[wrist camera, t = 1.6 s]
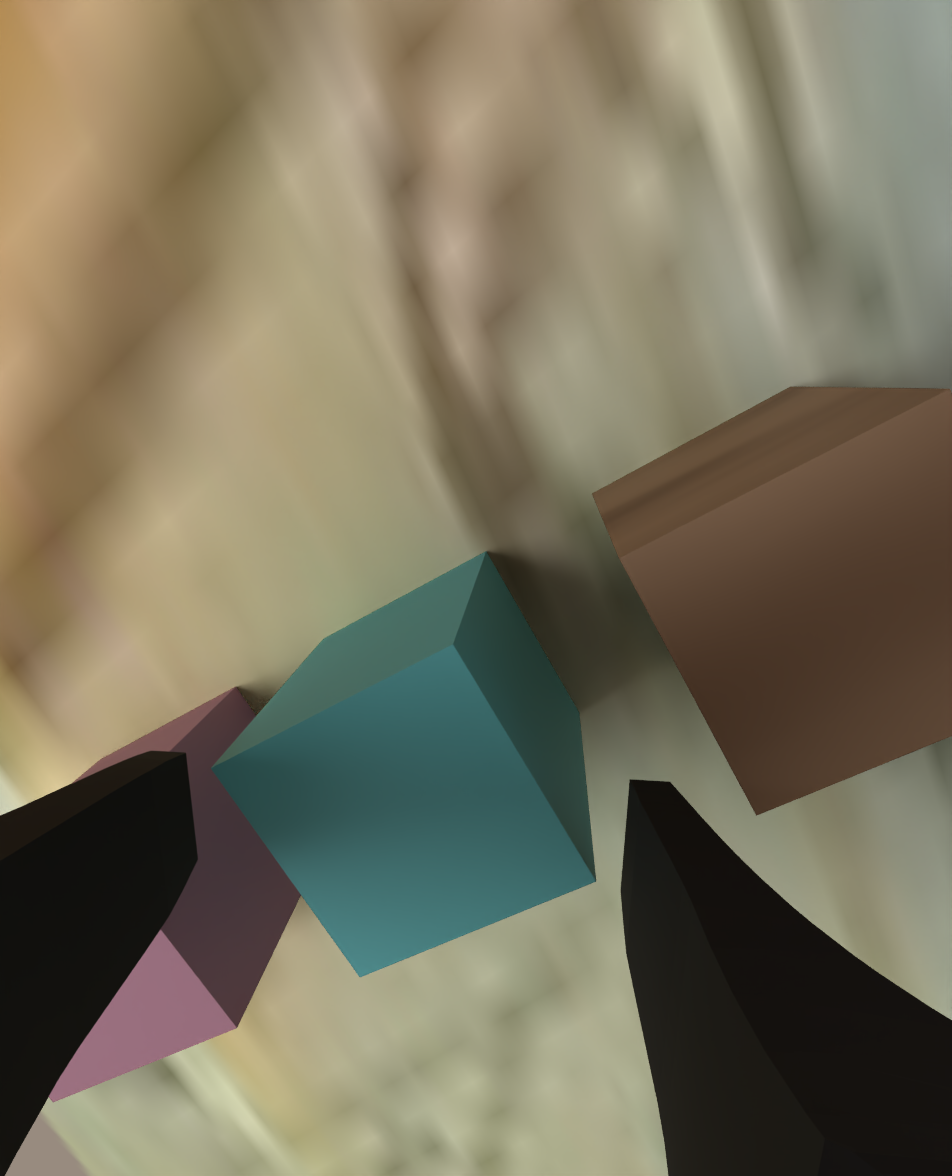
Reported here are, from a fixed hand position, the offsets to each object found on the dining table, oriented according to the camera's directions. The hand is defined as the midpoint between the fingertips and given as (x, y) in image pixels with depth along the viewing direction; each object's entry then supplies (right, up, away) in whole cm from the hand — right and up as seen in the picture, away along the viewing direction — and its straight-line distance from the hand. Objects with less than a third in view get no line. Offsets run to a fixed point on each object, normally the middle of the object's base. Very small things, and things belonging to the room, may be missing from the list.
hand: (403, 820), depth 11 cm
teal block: (+1, +2, +6) cm, 6 cm away
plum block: (-6, -2, +7) cm, 9 cm away
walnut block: (+7, +5, +4) cm, 9 cm away
